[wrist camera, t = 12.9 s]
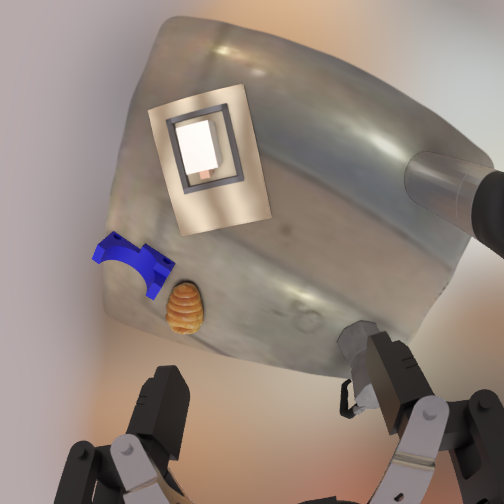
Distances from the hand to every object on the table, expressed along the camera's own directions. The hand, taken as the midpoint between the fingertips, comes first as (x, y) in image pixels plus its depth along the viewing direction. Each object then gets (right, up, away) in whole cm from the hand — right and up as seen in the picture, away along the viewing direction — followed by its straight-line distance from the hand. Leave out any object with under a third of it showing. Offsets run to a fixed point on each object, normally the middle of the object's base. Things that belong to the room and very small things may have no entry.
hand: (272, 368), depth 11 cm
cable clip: (-20, +5, +35) cm, 40 cm away
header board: (-7, +18, +28) cm, 34 cm away
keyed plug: (-7, +20, +26) cm, 34 cm away
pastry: (-10, -3, +39) cm, 40 cm away
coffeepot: (+20, -13, +42) cm, 49 cm away
